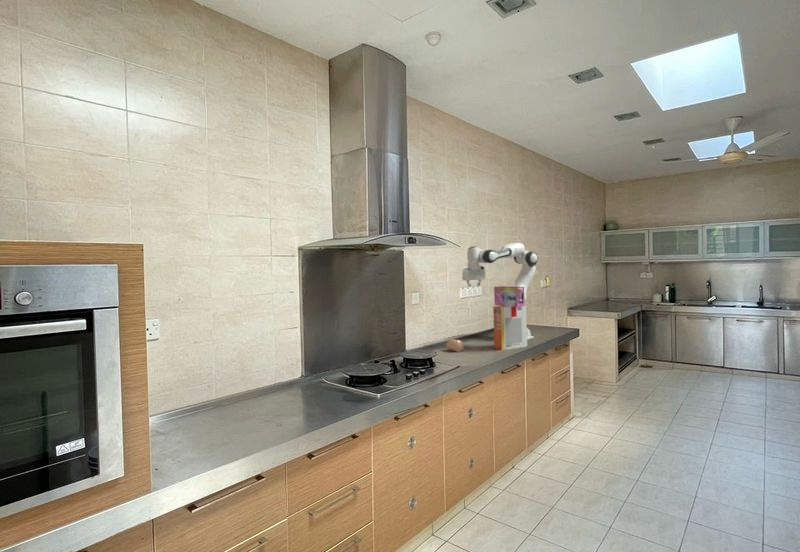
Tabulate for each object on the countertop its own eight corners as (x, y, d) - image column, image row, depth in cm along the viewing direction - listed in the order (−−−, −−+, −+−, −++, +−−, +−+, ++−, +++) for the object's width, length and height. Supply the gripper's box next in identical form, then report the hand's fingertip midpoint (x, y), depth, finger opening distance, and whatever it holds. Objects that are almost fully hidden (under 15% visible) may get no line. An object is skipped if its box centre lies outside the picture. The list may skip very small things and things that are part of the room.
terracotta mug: (444, 347, 302) (453, 348, 294) (448, 337, 304) (458, 338, 297) (453, 353, 307) (462, 355, 300) (457, 343, 309) (466, 344, 302)
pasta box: (519, 344, 316) (518, 304, 315) (527, 346, 308) (526, 305, 308) (494, 348, 306) (493, 306, 305) (501, 350, 299) (500, 307, 298)
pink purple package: (526, 306, 298) (526, 286, 298) (518, 307, 294) (517, 287, 293) (502, 304, 318) (501, 286, 318) (494, 305, 314) (493, 286, 314)
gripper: (465, 268, 318) (466, 286, 318) (486, 267, 328) (486, 285, 328) (460, 268, 323) (460, 286, 323) (480, 267, 334) (481, 285, 334)
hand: (474, 285), depth 326 cm, fingers open, 8 cm apart
